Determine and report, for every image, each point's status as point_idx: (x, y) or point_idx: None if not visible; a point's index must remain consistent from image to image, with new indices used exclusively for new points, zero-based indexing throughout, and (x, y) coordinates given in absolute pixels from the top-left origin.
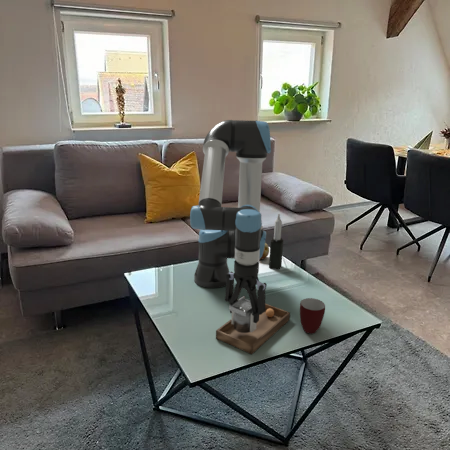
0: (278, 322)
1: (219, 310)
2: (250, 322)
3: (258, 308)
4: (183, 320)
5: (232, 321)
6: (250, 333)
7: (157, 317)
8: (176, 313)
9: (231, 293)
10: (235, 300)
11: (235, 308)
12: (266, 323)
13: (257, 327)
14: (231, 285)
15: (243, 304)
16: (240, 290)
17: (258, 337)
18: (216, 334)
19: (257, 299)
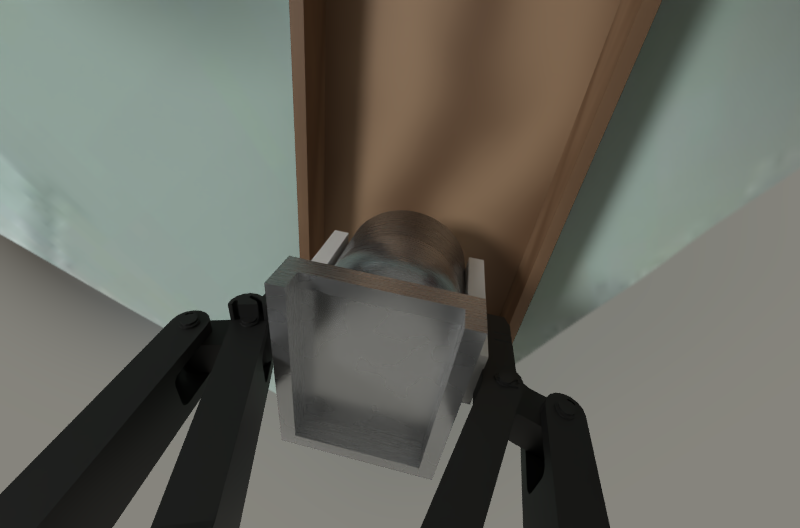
0: (629, 67)
1: (153, 41)
2: None
3: (528, 490)
4: (130, 231)
5: None
6: (442, 211)
7: (57, 255)
8: (63, 196)
9: (173, 389)
10: (255, 340)
11: (338, 452)
12: (503, 40)
13: (458, 129)
14: (85, 520)
15: (344, 350)
16: (229, 484)
17: (496, 226)
18: None
19: (491, 494)
